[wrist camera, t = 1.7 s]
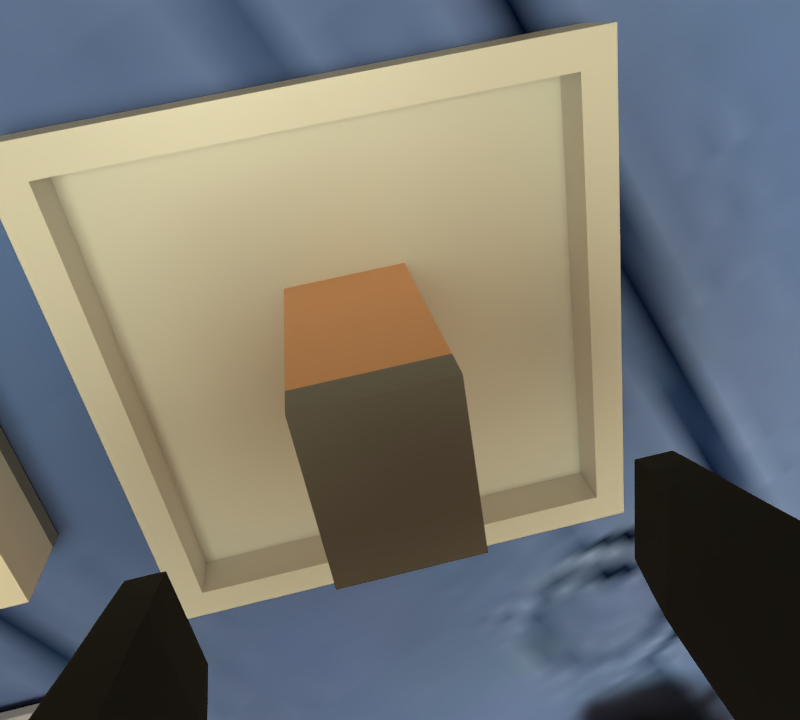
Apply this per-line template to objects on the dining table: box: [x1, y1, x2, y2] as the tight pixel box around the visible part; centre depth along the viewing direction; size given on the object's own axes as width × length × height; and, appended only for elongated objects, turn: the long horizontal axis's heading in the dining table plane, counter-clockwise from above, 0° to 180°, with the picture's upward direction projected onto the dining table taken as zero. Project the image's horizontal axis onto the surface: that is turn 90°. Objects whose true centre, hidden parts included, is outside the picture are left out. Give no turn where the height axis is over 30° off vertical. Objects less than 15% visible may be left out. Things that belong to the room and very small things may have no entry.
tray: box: [0, 22, 624, 619], centre depth 17 cm, size 13×13×2 cm
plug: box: [284, 263, 488, 590], centre depth 15 cm, size 4×3×6 cm
